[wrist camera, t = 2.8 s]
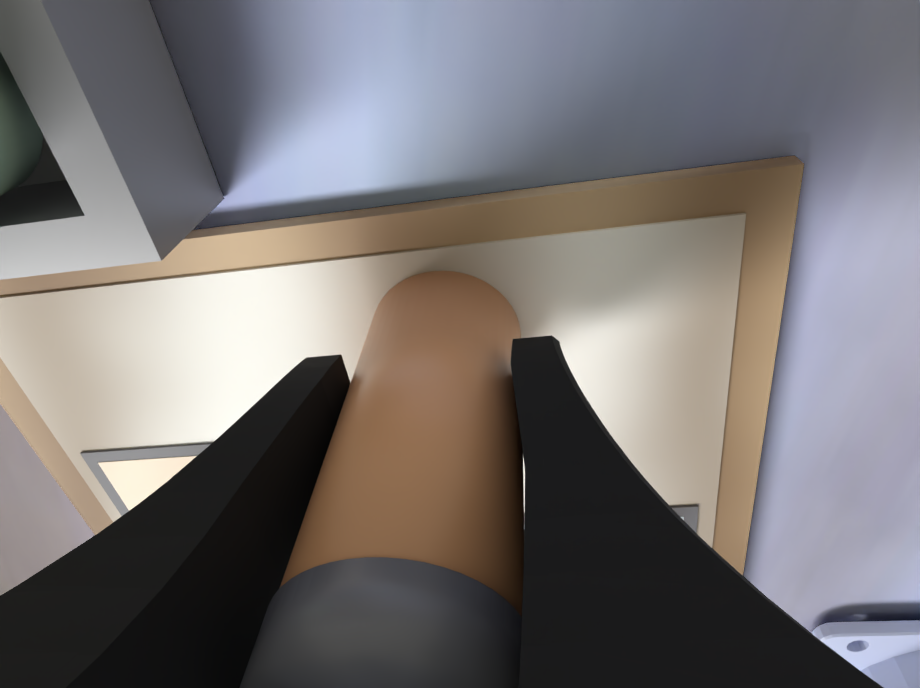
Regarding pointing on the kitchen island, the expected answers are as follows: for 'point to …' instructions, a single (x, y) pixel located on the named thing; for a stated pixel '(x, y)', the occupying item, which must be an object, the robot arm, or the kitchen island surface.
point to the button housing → (100, 140)
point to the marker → (412, 509)
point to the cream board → (388, 263)
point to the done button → (16, 133)
